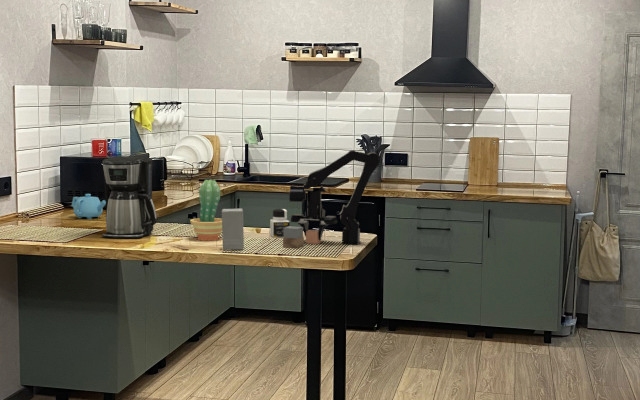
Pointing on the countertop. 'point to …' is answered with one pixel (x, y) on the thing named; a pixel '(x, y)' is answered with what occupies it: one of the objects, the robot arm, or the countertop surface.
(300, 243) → the walnut block
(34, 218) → the countertop surface
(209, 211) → the potted cactus
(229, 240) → the skincare box
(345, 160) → the robot arm
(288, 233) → the charcoal block
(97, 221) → the countertop surface
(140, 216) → the coffee maker
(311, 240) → the terracotta cube
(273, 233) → the medicine bottle
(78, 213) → the teapot
